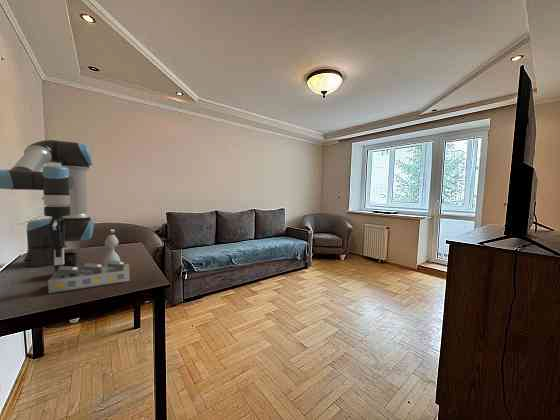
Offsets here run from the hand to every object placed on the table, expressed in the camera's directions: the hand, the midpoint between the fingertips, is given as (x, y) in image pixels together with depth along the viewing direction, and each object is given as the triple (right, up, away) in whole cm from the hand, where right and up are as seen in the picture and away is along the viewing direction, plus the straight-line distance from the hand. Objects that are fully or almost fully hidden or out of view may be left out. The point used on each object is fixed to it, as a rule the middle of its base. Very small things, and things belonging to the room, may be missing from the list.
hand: (59, 264), depth 94 cm
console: (+8, -9, +7) cm, 14 cm away
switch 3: (+15, -3, +11) cm, 19 cm away
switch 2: (+9, -3, +6) cm, 11 cm away
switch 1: (+2, -3, +2) cm, 4 cm away
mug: (-10, -9, +14) cm, 19 cm away
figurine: (+3, -8, +26) cm, 27 cm away
